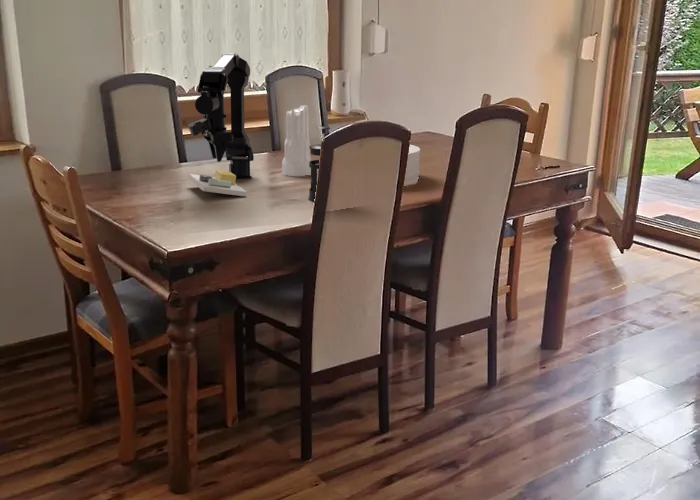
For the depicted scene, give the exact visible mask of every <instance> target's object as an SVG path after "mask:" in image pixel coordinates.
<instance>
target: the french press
mask: <svg viewBox="0 0 700 500" xmlns="http://www.w3.org/2000/svg"><path fill="white" fill-rule="evenodd" d="M316 128H317V129H318V130H321V133H322V140H323V139H324V140H325V134H326V130H330V129H331V127H330V126H317V127H316ZM309 148H310V155H312V156H316V157H317V156H319V157H320V149H321V144H312V145H311V144H310V146H309ZM319 160H320V159H313V160H311V161H310V162H309V167H311V175H310V179H309V181H310V187H309V189H308V190H309V191H308V196H309V197H308V201H309V202H313V203H315V202H314V199H315V192H316V185H317V186H318V184H317V177H318V170H320V169H319V165H320V164H319Z"/></svg>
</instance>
